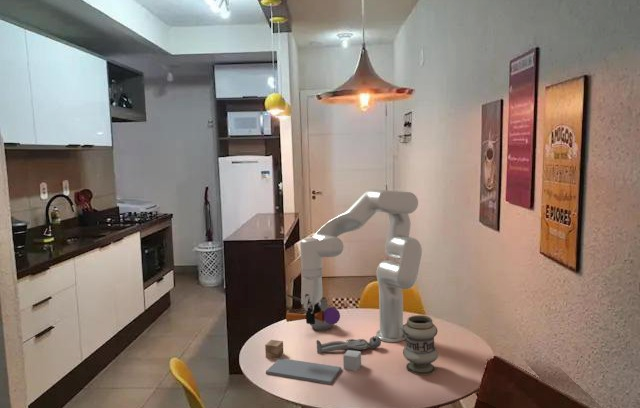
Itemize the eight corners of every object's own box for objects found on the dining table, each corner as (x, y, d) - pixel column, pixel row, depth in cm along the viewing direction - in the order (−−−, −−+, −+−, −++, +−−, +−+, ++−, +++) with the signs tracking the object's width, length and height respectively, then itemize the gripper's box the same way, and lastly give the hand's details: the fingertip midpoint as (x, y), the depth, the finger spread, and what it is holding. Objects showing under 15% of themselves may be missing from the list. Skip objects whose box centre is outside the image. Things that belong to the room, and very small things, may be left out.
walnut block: (283, 353, 179) (282, 341, 178) (277, 359, 174) (277, 346, 174) (271, 352, 180) (271, 339, 180) (265, 357, 176) (265, 344, 175)
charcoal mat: (341, 369, 164) (341, 367, 164) (330, 384, 154) (330, 381, 153) (280, 360, 173) (279, 358, 172) (265, 373, 162) (265, 371, 162)
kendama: (289, 307, 176) (340, 306, 171) (290, 323, 176) (342, 322, 171) (284, 310, 171) (337, 308, 165) (285, 326, 170) (338, 325, 165)
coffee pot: (335, 322, 210) (334, 289, 209) (334, 331, 199) (333, 297, 197) (288, 322, 211) (287, 290, 210) (285, 332, 200) (283, 298, 198)
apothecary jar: (395, 367, 164) (395, 318, 162) (418, 357, 171) (418, 310, 169) (422, 380, 155) (422, 327, 153) (445, 369, 162) (445, 319, 160)
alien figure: (316, 336, 184) (379, 332, 185) (317, 348, 185) (379, 343, 185) (316, 345, 176) (382, 340, 177) (317, 357, 177) (383, 352, 177)
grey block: (361, 364, 167) (361, 351, 167) (357, 371, 163) (356, 357, 162) (348, 363, 169) (347, 349, 169) (343, 369, 164) (343, 355, 164)
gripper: (311, 266, 178) (313, 312, 180) (292, 278, 162) (294, 328, 164) (329, 267, 175) (331, 313, 177) (312, 279, 160) (314, 330, 162)
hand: (313, 320), depth 171 cm, fingers closed on kendama, 5 cm apart
